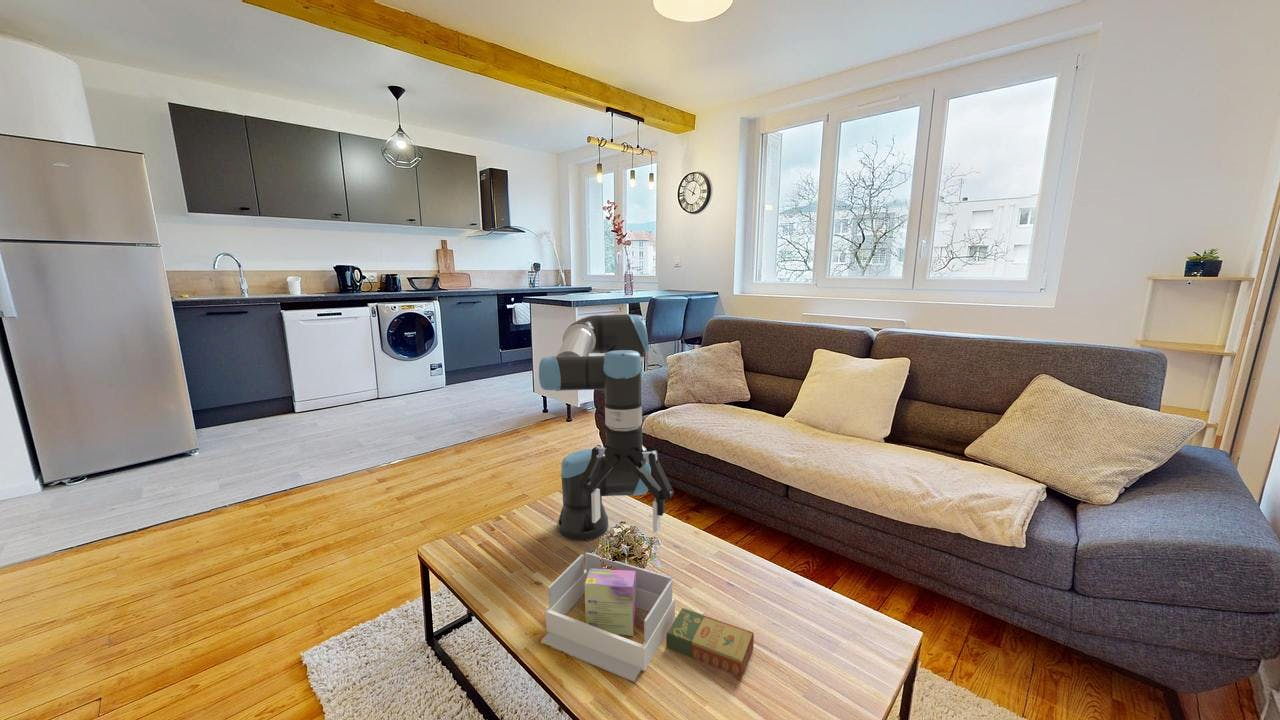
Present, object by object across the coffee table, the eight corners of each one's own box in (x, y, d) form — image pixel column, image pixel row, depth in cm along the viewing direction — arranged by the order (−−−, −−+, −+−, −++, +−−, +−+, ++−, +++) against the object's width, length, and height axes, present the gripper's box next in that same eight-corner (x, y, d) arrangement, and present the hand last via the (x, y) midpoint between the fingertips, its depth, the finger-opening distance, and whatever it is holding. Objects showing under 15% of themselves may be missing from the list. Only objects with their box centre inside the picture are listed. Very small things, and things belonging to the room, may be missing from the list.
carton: (742, 680, 88) (742, 661, 87) (665, 649, 95) (665, 631, 94) (753, 649, 95) (754, 631, 94) (681, 622, 102) (681, 605, 102)
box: (636, 616, 104) (635, 569, 102) (633, 636, 98) (632, 586, 96) (591, 614, 105) (589, 567, 103) (585, 633, 99) (583, 584, 97)
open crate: (537, 641, 97) (534, 599, 95) (585, 587, 114) (584, 550, 112) (638, 683, 87) (637, 637, 85) (675, 617, 103) (675, 577, 101)
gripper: (560, 426, 95) (564, 524, 98) (678, 436, 87) (679, 542, 90) (577, 417, 102) (580, 509, 105) (687, 425, 94) (688, 524, 97)
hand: (625, 524), depth 97 cm, fingers open, 13 cm apart
